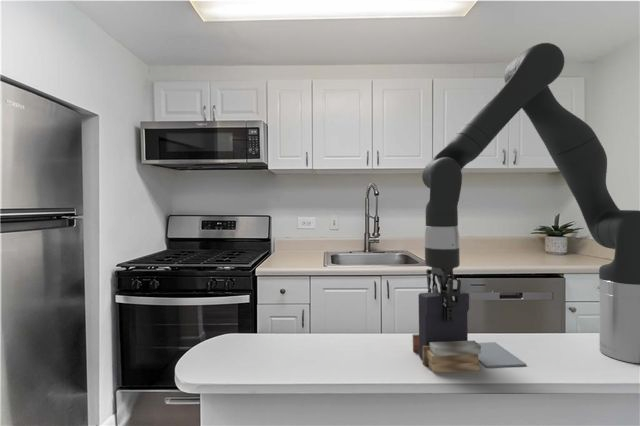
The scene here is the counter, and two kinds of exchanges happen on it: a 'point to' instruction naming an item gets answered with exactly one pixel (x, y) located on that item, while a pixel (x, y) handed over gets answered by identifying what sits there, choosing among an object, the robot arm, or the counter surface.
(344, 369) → the counter surface
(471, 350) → the offcut stack
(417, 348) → the rack
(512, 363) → the slate mat
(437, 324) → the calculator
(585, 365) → the counter surface
